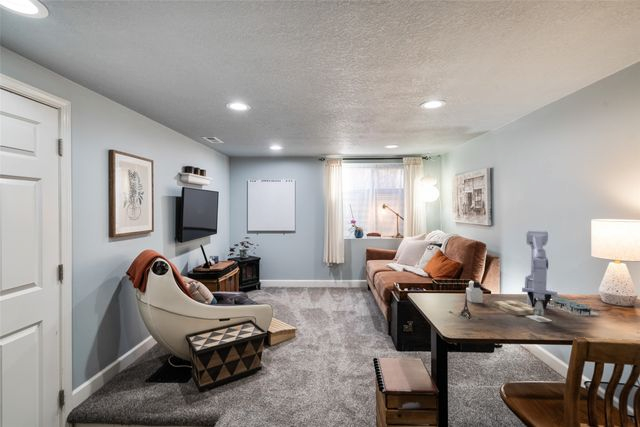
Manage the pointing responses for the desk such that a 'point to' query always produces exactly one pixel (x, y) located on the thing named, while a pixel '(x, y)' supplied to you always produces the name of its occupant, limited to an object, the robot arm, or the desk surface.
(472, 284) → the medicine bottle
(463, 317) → the eiffel tower figurine
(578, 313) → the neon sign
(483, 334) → the desk surface
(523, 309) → the bore block
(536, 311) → the end cover
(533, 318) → the mat
